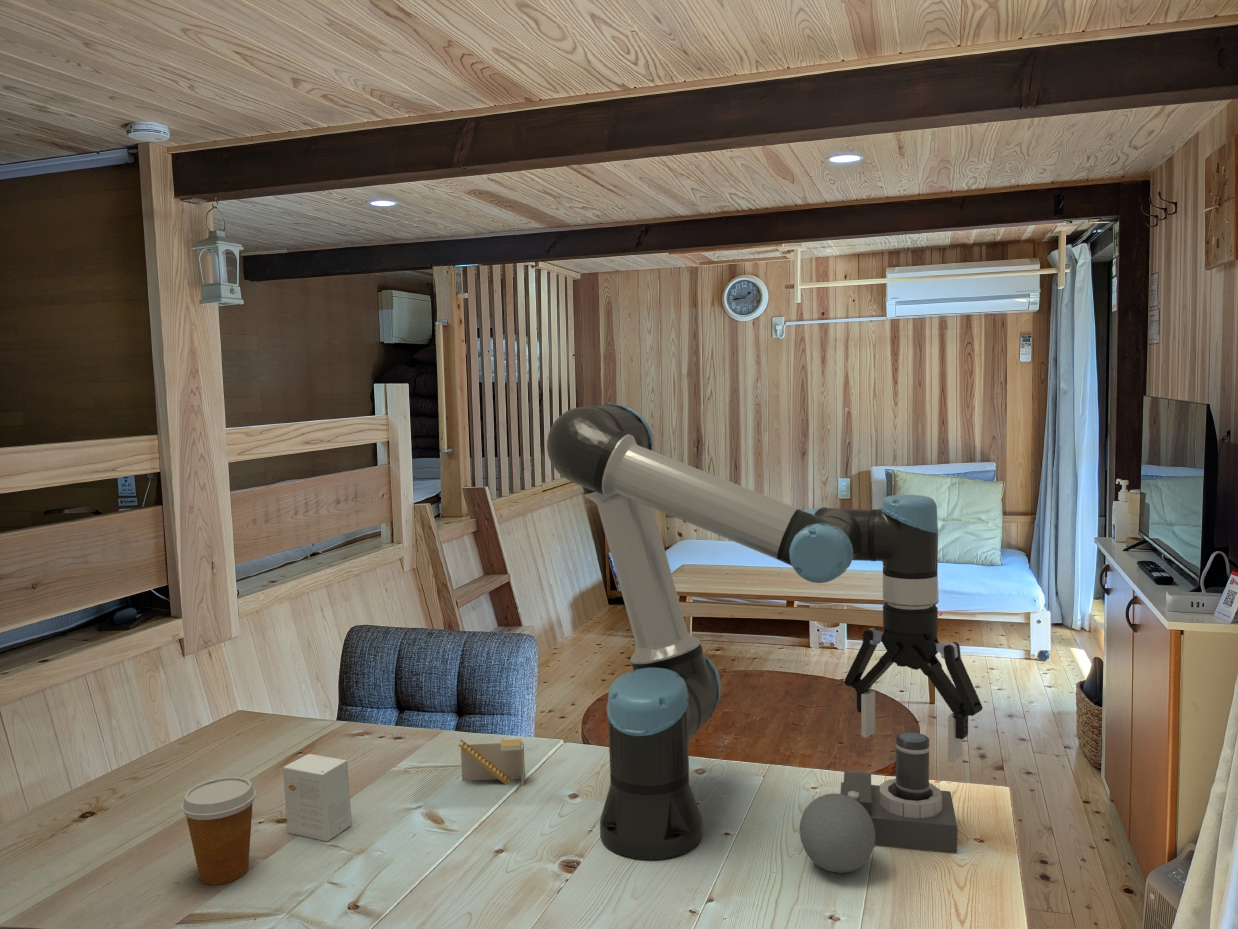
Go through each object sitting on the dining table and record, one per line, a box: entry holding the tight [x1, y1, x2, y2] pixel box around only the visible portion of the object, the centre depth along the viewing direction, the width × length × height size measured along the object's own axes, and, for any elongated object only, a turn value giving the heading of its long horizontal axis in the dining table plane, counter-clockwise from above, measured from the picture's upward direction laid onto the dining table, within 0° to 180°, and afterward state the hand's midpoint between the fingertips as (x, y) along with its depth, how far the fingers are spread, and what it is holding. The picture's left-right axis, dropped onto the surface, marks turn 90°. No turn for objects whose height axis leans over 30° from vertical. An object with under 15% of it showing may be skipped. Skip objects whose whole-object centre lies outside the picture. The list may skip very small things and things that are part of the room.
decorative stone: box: [799, 793, 876, 874], centre depth 123 cm, size 10×10×10 cm
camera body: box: [839, 771, 958, 854], centre depth 134 cm, size 16×11×7 cm
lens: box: [895, 731, 930, 801], centre depth 133 cm, size 5×5×10 cm
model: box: [458, 738, 526, 786], centre depth 154 cm, size 3×11×8 cm, turn 92°
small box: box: [282, 753, 353, 842], centre depth 139 cm, size 8×6×10 cm
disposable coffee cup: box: [180, 776, 257, 885], centre depth 127 cm, size 10×10×12 cm
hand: (910, 746), depth 132 cm, fingers open, 13 cm apart
